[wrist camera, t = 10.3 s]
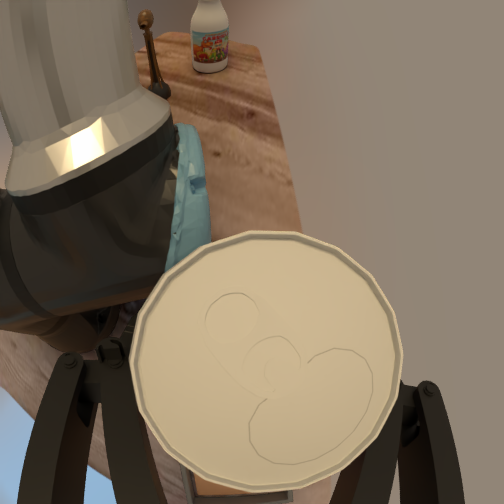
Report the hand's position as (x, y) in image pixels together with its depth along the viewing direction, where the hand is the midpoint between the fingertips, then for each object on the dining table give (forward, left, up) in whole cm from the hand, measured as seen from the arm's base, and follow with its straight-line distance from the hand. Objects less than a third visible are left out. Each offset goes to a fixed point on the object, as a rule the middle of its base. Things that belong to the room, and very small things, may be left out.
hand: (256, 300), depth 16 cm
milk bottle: (+14, +51, -19) cm, 56 cm away
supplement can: (-2, -3, -6) cm, 7 cm away
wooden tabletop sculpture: (+1, +44, -19) cm, 48 cm away
